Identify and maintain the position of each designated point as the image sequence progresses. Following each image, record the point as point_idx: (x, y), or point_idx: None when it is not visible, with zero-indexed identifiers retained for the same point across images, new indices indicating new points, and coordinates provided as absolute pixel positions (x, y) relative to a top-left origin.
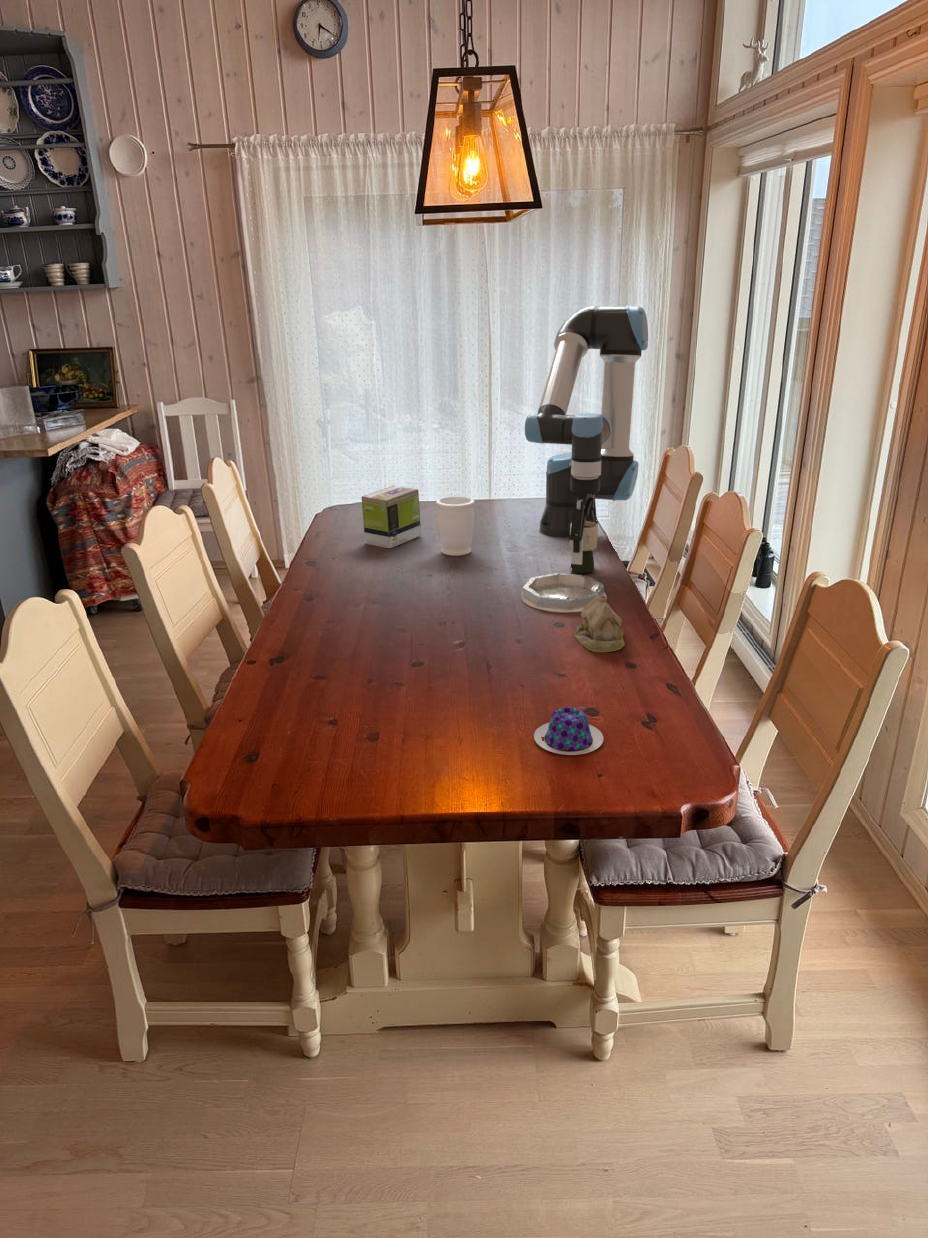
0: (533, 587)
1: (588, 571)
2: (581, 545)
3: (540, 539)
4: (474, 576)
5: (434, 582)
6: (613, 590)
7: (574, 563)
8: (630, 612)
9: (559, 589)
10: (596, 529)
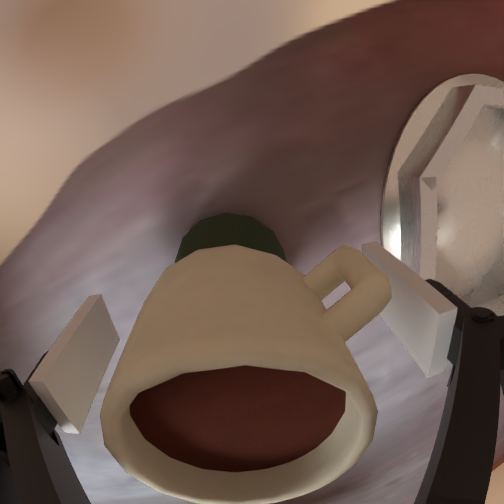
0: None
1: (262, 225)
2: (435, 293)
3: None
4: (386, 450)
5: (426, 460)
6: (387, 62)
7: None
8: (496, 7)
9: (459, 246)
10: (230, 323)
